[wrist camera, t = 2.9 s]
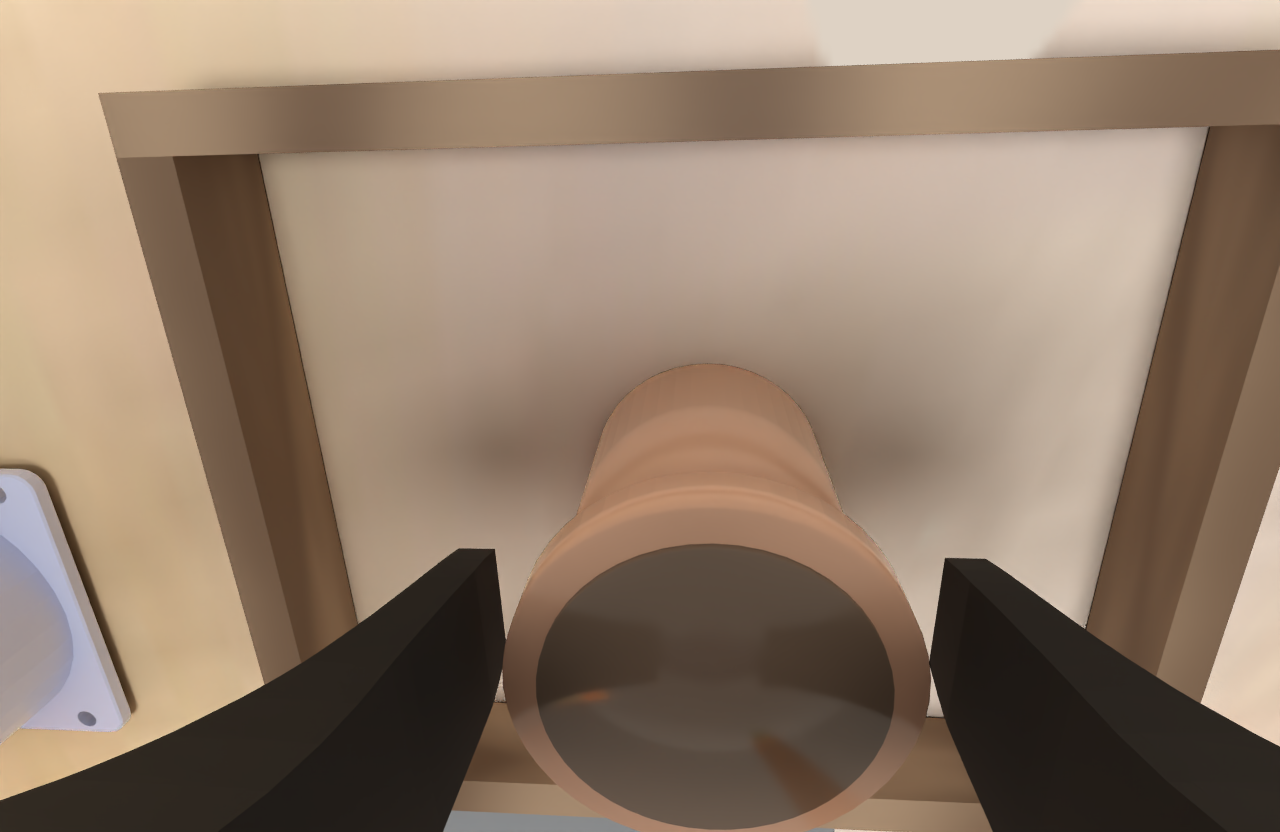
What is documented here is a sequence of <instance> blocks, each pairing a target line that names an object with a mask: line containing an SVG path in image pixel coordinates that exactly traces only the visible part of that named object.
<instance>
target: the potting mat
mask: <svg viewBox="0 0 1280 832" xmlns="http://www.w3.org/2000/svg"><path fill="white" fill-rule="evenodd" d="M443 832H640V831H637V830H634V829H631V828H629V827H626V826H624V825H621V824H619V823H616V822H614V821H612V820H610V819H608V818H598V817H577V816H556V815H535V814H514V813H492V812H471V811H451V813H450V816H449V818H448V821H447V823H446V826H445V828H444V831H443ZM805 832H834V829H830V828H814V829H811V830H809V831H805Z"/></svg>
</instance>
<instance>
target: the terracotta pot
mask: <svg viewBox="0 0 1280 832" xmlns="http://www.w3.org/2000/svg"><path fill="white" fill-rule="evenodd" d="M502 670H503V689H504V694H505V698H506V703H507V708H508V711H509V714H510V716H511V719H512V722H513V725H514V727H515V730H516V731H517V733H518V735H519V737H520V739H521V741H522V742H523V744H524V746H525V748H526V749H527V751H528V752H529V753H530V755H531V756H532V757H533V759H534V760H535V762H536V763H537V764H538V766H539V767H540V768H541V769H542V770H543V771H544V772H545V773H546V774H547V775H548V776H549V777H550V778H551V779H552V780H553V781H554V783H556V784H557V785H558V786H559V787H560V788H562V789H563V790H564V791H565V792H567V793H568V794H569V795H570V796H571V797H573V798H574V799H576V800H577V801H579V802H580V803H582V804H583V805H585V806H586V807H588V808H589V809H591V810H592V811H594V812H596V813H598V814H600V815H602V816H604V817H606V818H608V819H610V820H612V821H614V822H616V823H619V824H621V825H624V826H626V827H629V828H631V829H634V830H637V831H640V832H805V831H809V830H811V829H814V828H816V827H819V826H821V825H823V824H826V823H828V822H831V821H833V820H835V819H836V818H838V817H840V816H842V815H844V814H846V813H848V812H849V811H851V810H853V809H854V808H856V807H857V806H859V805H860V804H861V803H863V802H864V801H866V800H867V799H869V798H870V797H871V796H873V795H874V794H875V793H876V792H877V791H878V790H879V789H880V788H881V787H882V786H884V785H885V784H886V783H887V782H888V781H889V780H890V779H891V778H892V776H893V775H894V774H895V773H896V772H897V770H898V769H899V768H900V767H901V766H902V764H903V763H904V762H905V760H906V758H907V757H908V755H909V754H910V752H911V750H912V749H913V747H914V746H915V744H916V742H917V739H918V737H919V734H920V732H921V730H922V727H923V725H924V722H925V718H926V714H927V710H928V706H929V701H930V686H931V675H930V665H929V656H928V653H927V649H926V645H925V642H924V638H923V635H922V632H921V630H920V627H919V625H918V623H917V621H916V618H915V616H914V614H913V612H912V609H911V607H910V605H909V602H908V600H907V598H906V596H905V593H904V591H903V589H902V587H901V584H900V582H899V580H898V578H897V576H896V574H895V572H894V570H893V567H892V566H891V564H890V563H889V561H888V560H887V558H886V557H885V555H884V554H883V552H882V551H881V549H880V548H879V547H878V545H877V544H876V543H875V542H874V541H873V540H872V539H871V538H870V537H869V536H868V535H867V533H866V532H865V531H864V530H863V529H862V528H861V527H859V526H858V525H857V524H856V523H855V522H853V521H852V520H851V519H850V518H849V517H847V516H846V515H845V514H844V513H843V511H842V508H841V506H840V503H839V500H838V498H837V495H836V492H835V490H834V487H833V484H832V482H831V479H830V476H829V474H828V471H827V468H826V465H825V463H824V460H823V457H822V455H821V452H820V449H819V447H818V444H817V441H816V439H815V436H814V433H813V431H812V428H811V426H810V424H809V422H808V420H807V418H806V416H805V415H804V413H803V412H802V411H801V409H800V408H799V406H798V405H797V404H796V403H795V402H794V401H793V399H792V398H791V397H790V396H789V395H788V394H787V393H785V392H784V391H783V390H782V389H781V388H779V387H778V386H777V385H775V384H774V383H772V382H771V381H769V380H767V379H766V378H764V377H762V376H760V375H757V374H755V373H753V372H751V371H747V370H744V369H741V368H738V367H733V366H728V365H722V364H694V365H687V366H682V367H677V368H674V369H671V370H668V371H665V372H662V373H660V374H658V375H656V376H653V377H651V378H649V379H648V380H646V381H645V382H643V383H641V384H640V385H638V386H637V387H636V388H634V389H633V390H632V391H631V392H630V393H629V394H627V395H626V396H625V397H624V399H623V400H622V401H621V402H620V403H619V404H618V405H617V406H616V408H615V409H614V411H613V412H612V414H611V415H610V417H609V419H608V421H607V423H606V425H605V427H604V429H603V432H602V435H601V438H600V441H599V445H598V448H597V451H596V454H595V457H594V461H593V464H592V467H591V470H590V473H589V476H588V480H587V483H586V486H585V489H584V492H583V496H582V499H581V502H580V505H579V508H578V512H577V515H576V516H575V517H574V518H573V519H572V520H571V521H569V522H568V523H567V524H566V525H565V526H564V527H563V528H562V529H561V530H560V531H559V532H558V533H557V534H556V535H555V536H554V537H553V539H552V540H551V541H550V542H549V543H548V545H547V546H546V548H545V549H544V551H543V552H542V554H541V555H540V556H539V558H538V559H537V561H536V563H535V565H534V567H533V570H532V572H531V574H530V576H529V578H528V580H527V583H526V585H525V588H524V591H523V593H522V596H521V599H520V601H519V604H518V607H517V609H516V612H515V615H514V617H513V620H512V623H511V626H510V629H509V633H508V636H507V639H506V643H505V648H504V657H503V665H502Z"/></svg>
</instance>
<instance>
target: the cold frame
mask: <svg viewBox="0 0 1280 832" xmlns="http://www.w3.org/2000/svg"><path fill="white" fill-rule="evenodd" d="M98 94H99V98H100V101H101V105H102V108H103V112H104V115H105V119H106V123H107V126H108V130H109V133H110V137H111V140H112V144H113V147H114V151H115V154H116V158H117V162H118V165H119V169H120V172H121V176H122V179H123V183H124V186H125V190H126V194H127V197H128V201H129V204H130V208H131V211H132V215H133V218H134V222H135V226H136V229H137V233H138V236H139V240H140V243H141V247H142V250H143V254H144V257H145V261H146V265H147V268H148V272H149V275H150V279H151V282H152V286H153V289H154V293H155V297H156V300H157V304H158V307H159V311H160V314H161V318H162V321H163V325H164V328H165V332H166V336H167V339H168V343H169V346H170V350H171V353H172V357H173V360H174V364H175V368H176V371H177V375H178V378H179V382H180V385H181V389H182V392H183V396H184V400H185V403H186V407H187V410H188V414H189V417H190V421H191V424H192V428H193V431H194V435H195V439H196V442H197V446H198V449H199V453H200V456H201V460H202V463H203V467H204V471H205V474H206V478H207V481H208V485H209V488H210V492H211V495H212V499H213V503H214V506H215V510H216V513H217V517H218V520H219V524H220V527H221V531H222V534H223V538H224V542H225V545H226V549H227V552H228V556H229V559H230V563H231V566H232V570H233V574H234V577H235V581H236V584H237V588H238V591H239V595H240V598H241V602H242V606H243V609H244V613H245V616H246V620H247V623H248V627H249V630H250V634H251V637H252V641H253V645H254V648H255V652H256V655H257V659H258V662H259V666H260V669H261V673H262V677H263V680H264V684H267V683H269V682H270V681H272V680H274V679H275V678H277V677H279V676H281V675H282V674H284V673H286V672H288V671H289V670H291V669H292V668H294V667H296V666H297V665H299V664H300V663H302V662H304V661H305V660H307V659H308V658H310V657H312V656H313V655H315V654H316V653H318V652H319V651H321V650H322V649H324V648H325V647H326V646H328V645H329V644H331V643H332V642H334V641H335V640H337V639H338V638H339V637H341V636H342V635H344V634H345V633H347V632H348V631H349V630H351V629H352V628H354V627H355V626H357V620H356V616H355V611H354V606H353V602H352V597H351V592H350V588H349V583H348V578H347V573H346V569H345V564H344V559H343V555H342V550H341V545H340V541H339V536H338V531H337V526H336V522H335V517H334V512H333V508H332V503H331V498H330V493H329V489H328V484H327V479H326V475H325V470H324V465H323V461H322V456H321V451H320V446H319V442H318V437H317V432H316V428H315V423H314V418H313V414H312V409H311V404H310V399H309V395H308V390H307V385H306V381H305V376H304V371H303V367H302V362H301V357H300V352H299V348H298V343H297V338H296V334H295V329H294V324H293V319H292V315H291V310H290V305H289V301H288V296H287V291H286V287H285V282H284V277H283V272H282V268H281V263H280V258H279V254H278V249H277V244H276V240H275V235H274V230H273V225H272V221H271V216H270V211H269V207H268V202H267V197H266V193H265V188H264V183H263V178H262V174H261V169H260V164H259V160H258V155H257V154H268V153H303V152H337V151H372V150H407V149H441V148H476V147H511V146H545V145H580V144H615V143H649V142H684V141H718V140H753V139H788V138H822V137H857V136H892V135H926V134H961V133H996V132H1030V131H1065V130H1100V129H1134V128H1169V127H1204V126H1210V130H1209V134H1208V138H1207V142H1206V146H1205V150H1204V154H1203V158H1202V162H1201V166H1200V170H1199V175H1198V179H1197V183H1196V187H1195V191H1194V195H1193V199H1192V203H1191V207H1190V211H1189V215H1188V219H1187V223H1186V227H1185V231H1184V235H1183V239H1182V243H1181V247H1180V251H1179V256H1178V260H1177V264H1176V268H1175V272H1174V276H1173V280H1172V284H1171V288H1170V292H1169V296H1168V300H1167V304H1166V308H1165V312H1164V316H1163V320H1162V324H1161V328H1160V332H1159V336H1158V341H1157V345H1156V349H1155V353H1154V357H1153V361H1152V365H1151V369H1150V373H1149V377H1148V381H1147V385H1146V389H1145V393H1144V397H1143V401H1142V405H1141V409H1140V413H1139V417H1138V421H1137V426H1136V430H1135V434H1134V438H1133V442H1132V446H1131V450H1130V454H1129V458H1128V462H1127V466H1126V470H1125V474H1124V478H1123V482H1122V486H1121V490H1120V494H1119V498H1118V502H1117V507H1116V511H1115V515H1114V519H1113V523H1112V527H1111V531H1110V535H1109V539H1108V543H1107V547H1106V551H1105V555H1104V559H1103V563H1102V567H1101V571H1100V575H1099V579H1098V583H1097V587H1096V592H1095V596H1094V600H1093V604H1092V608H1091V612H1090V616H1089V620H1088V624H1087V628H1086V630H1087V631H1088V632H1090V633H1091V634H1093V635H1094V636H1095V637H1097V638H1098V639H1100V640H1101V641H1103V642H1104V643H1106V644H1107V645H1109V646H1110V647H1112V648H1113V649H1114V650H1116V651H1117V652H1119V653H1120V654H1122V655H1123V656H1125V657H1126V658H1128V659H1129V660H1131V661H1133V662H1134V663H1136V664H1137V665H1139V666H1140V667H1142V668H1144V669H1145V670H1147V671H1148V672H1150V673H1151V674H1153V675H1155V676H1156V677H1158V678H1159V679H1161V680H1162V681H1164V682H1166V683H1167V684H1169V685H1170V686H1172V687H1174V688H1175V689H1177V690H1178V691H1180V692H1182V693H1184V694H1185V695H1187V696H1189V697H1190V698H1192V699H1194V700H1195V701H1197V702H1199V703H1201V700H1202V697H1203V694H1204V691H1205V688H1206V685H1207V682H1208V679H1209V676H1210V673H1211V670H1212V667H1213V664H1214V661H1215V658H1216V655H1217V652H1218V649H1219V646H1220V643H1221V640H1222V637H1223V634H1224V631H1225V628H1226V625H1227V622H1228V620H1229V617H1230V614H1231V611H1232V608H1233V605H1234V602H1235V599H1236V596H1237V593H1238V590H1239V587H1240V584H1241V581H1242V578H1243V575H1244V572H1245V569H1246V566H1247V563H1248V560H1249V557H1250V554H1251V551H1252V548H1253V545H1254V542H1255V539H1256V536H1257V533H1258V530H1259V527H1260V524H1261V521H1262V518H1263V515H1264V512H1265V509H1266V506H1267V503H1268V500H1269V497H1270V494H1271V491H1272V488H1273V485H1274V482H1275V479H1276V476H1277V473H1278V470H1279V467H1280V50H1261V51H1234V52H1207V53H1179V54H1152V55H1125V56H1098V57H1070V58H1043V59H1016V60H989V61H964V62H963V61H962V62H935V63H910V64H909V63H907V64H881V65H852V66H825V67H798V68H771V69H743V70H716V71H689V72H661V73H634V74H607V75H580V76H552V77H525V78H498V79H471V80H443V81H416V82H389V83H362V84H334V85H307V86H280V87H253V88H225V89H198V90H171V91H144V92H116V93H98ZM452 811H471V812H492V813H514V814H535V815H556V816H577V817H598V818H606V817H604V816H602V815H600V814H598V813H596V812H594V811H592V810H591V809H589V808H588V807H586V806H585V805H583V804H582V803H580V802H579V801H577V800H576V799H574V798H573V797H571V796H570V795H569V794H568V793H567V792H565V791H564V790H563V789H562V788H560V787H559V786H558V785H557V784H556V783H554V781H553V780H552V779H551V778H550V777H549V776H548V775H547V774H546V773H545V772H544V771H543V770H542V769H541V768H540V767H539V766H538V764H537V763H536V762H535V760H534V759H533V757H532V756H531V755H530V753H529V752H528V751H527V749H526V748H525V746H524V744H523V742H522V741H521V739H520V737H519V735H518V733H517V731H516V730H515V727H514V725H513V722H512V719H511V716H510V714H509V711H508V708H507V703H493V706H492V709H491V712H490V714H489V717H488V720H487V722H486V725H485V727H484V730H483V732H482V735H481V738H480V740H479V743H478V745H477V748H476V750H475V753H474V755H473V758H472V760H471V763H470V765H469V768H468V770H467V773H466V775H465V778H464V780H463V783H462V785H461V788H460V790H459V793H458V795H457V798H456V801H455V803H454V806H453V808H452ZM816 828H830V829H851V830H872V831H893V832H993V831H992V829H991V826H990V824H989V822H988V819H987V817H986V815H985V813H984V810H983V808H982V806H981V803H980V801H979V799H978V797H977V794H976V792H975V790H974V787H973V785H972V783H971V781H970V778H969V776H968V774H967V771H966V769H965V767H964V764H963V762H962V760H961V757H960V755H959V753H958V750H957V748H956V746H955V743H954V741H953V739H952V736H951V734H950V731H949V729H948V727H947V724H946V721H945V718H925V722H924V725H923V727H922V730H921V732H920V734H919V737H918V739H917V742H916V744H915V746H914V747H913V749H912V750H911V752H910V754H909V755H908V757H907V758H906V760H905V762H904V763H903V764H902V766H901V767H900V768H899V769H898V770H897V772H896V773H895V774H894V775H893V776H892V778H891V779H890V780H889V781H888V782H887V783H886V784H885V785H884V786H882V787H881V788H880V789H879V790H878V791H877V792H876V793H875V794H874V795H873V796H871V797H870V798H869V799H867V800H866V801H864V802H863V803H861V804H860V805H859V806H857V807H856V808H854V809H853V810H851V811H849V812H848V813H846V814H844V815H842V816H840V817H838V818H836V819H835V820H833V821H831V822H828V823H826V824H823V825H821V826H819V827H816Z"/></svg>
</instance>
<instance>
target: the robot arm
mask: <svg viewBox="0 0 1280 832" xmlns="http://www.w3.org/2000/svg"><path fill="white" fill-rule="evenodd" d="M2 489H3V490H4V491H3V490H2ZM505 643H506V638H505V630H504V622H503V614H502V605H501V597H500V589H499V580H498V572H497V564H496V556H495V549H460V548H459V549H458V550H456V551H455V552H453V553H452V554H450V555H449V556H448V557H446V558H445V559H444V560H442V561H441V562H440V563H438V564H437V565H436V566H434V567H433V568H432V569H431V570H429V571H428V572H427V573H425V574H424V575H423V576H422V577H420V578H419V579H418V580H417V581H415V582H414V583H413V584H411V585H410V586H409V587H408V588H406V589H405V590H404V591H402V592H401V593H400V594H398V595H397V596H396V597H395V598H393V599H392V600H391V601H389V602H388V603H387V604H385V605H384V606H383V607H381V608H380V609H379V610H378V611H376V612H375V613H374V614H372V615H371V616H369V617H368V618H367V619H365V620H364V621H362V622H361V623H359V624H358V625H357V626H355V627H354V628H352V629H351V630H349V631H348V632H347V633H345V634H344V635H342V636H341V637H339V638H338V639H337V640H335V641H334V642H332V643H331V644H329V645H328V646H326V647H325V648H324V649H322V650H321V651H319V652H318V653H316V654H315V655H313V656H312V657H310V658H308V659H307V660H305V661H304V662H302V663H300V664H299V665H297V666H296V667H294V668H292V669H291V670H289V671H288V672H286V673H284V674H282V675H281V676H279V677H277V678H275V679H274V680H272V681H270V682H269V683H267V684H265V685H263V686H262V687H260V688H258V689H257V690H255V691H253V692H251V693H249V694H247V695H246V696H244V697H242V698H240V699H238V700H236V701H234V702H232V703H230V704H228V705H226V706H224V707H222V708H220V709H218V710H216V711H214V712H212V713H210V714H208V715H206V716H204V717H202V718H200V719H198V720H196V721H194V722H192V723H190V724H188V725H186V726H184V727H182V728H180V729H178V730H176V731H174V732H172V733H170V734H168V735H166V736H163V737H161V738H159V739H157V740H154V741H152V742H150V743H147V744H145V745H143V746H141V747H138V748H136V749H134V750H132V751H129V752H127V753H125V754H122V755H120V756H117V757H115V758H112V759H110V760H108V761H105V762H103V763H100V764H98V765H95V766H93V767H91V768H88V769H86V770H83V771H80V772H78V773H75V774H73V775H70V776H67V777H65V778H62V779H60V780H57V781H54V782H51V783H48V784H46V785H43V786H40V787H37V788H34V789H31V790H29V791H26V792H23V793H20V794H17V795H15V796H12V797H9V798H6V799H3V800H0V832H443V831H444V828H445V826H446V823H447V821H448V818H449V816H450V813H451V811H452V808H453V806H454V803H455V801H456V798H457V795H458V793H459V790H460V788H461V785H462V783H463V780H464V778H465V775H466V773H467V770H468V768H469V765H470V763H471V760H472V758H473V755H474V753H475V750H476V748H477V745H478V743H479V740H480V738H481V735H482V732H483V730H484V727H485V725H486V722H487V720H488V717H489V714H490V712H491V709H492V706H493V703H494V699H495V695H496V692H497V688H498V684H499V680H500V676H501V672H502V665H503V657H504V648H505ZM929 665H930V668H931V672H932V676H933V679H934V683H935V687H936V690H937V694H938V698H939V701H940V704H941V708H942V711H943V714H944V718H945V721H946V724H947V727H948V729H949V731H950V734H951V736H952V739H953V741H954V743H955V746H956V748H957V750H958V753H959V755H960V757H961V760H962V762H963V764H964V767H965V769H966V771H967V774H968V776H969V778H970V781H971V783H972V785H973V787H974V790H975V792H976V794H977V797H978V799H979V801H980V803H981V806H982V808H983V810H984V813H985V815H986V817H987V819H988V822H989V824H990V826H991V829H992V831H993V832H1280V747H1279V746H1277V745H1275V744H1274V743H1272V742H1270V741H1268V740H1266V739H1264V738H1262V737H1260V736H1258V735H1256V734H1254V733H1252V732H1251V731H1249V730H1247V729H1245V728H1244V727H1242V726H1240V725H1238V724H1236V723H1235V722H1233V721H1231V720H1229V719H1227V718H1226V717H1224V716H1222V715H1220V714H1218V713H1217V712H1215V711H1213V710H1211V709H1209V708H1208V707H1206V706H1204V705H1202V704H1200V703H1199V702H1197V701H1195V700H1194V699H1192V698H1190V697H1189V696H1187V695H1185V694H1184V693H1182V692H1180V691H1178V690H1177V689H1175V688H1174V687H1172V686H1170V685H1169V684H1167V683H1166V682H1164V681H1162V680H1161V679H1159V678H1158V677H1156V676H1155V675H1153V674H1151V673H1150V672H1148V671H1147V670H1145V669H1144V668H1142V667H1140V666H1139V665H1137V664H1136V663H1134V662H1133V661H1131V660H1129V659H1128V658H1126V657H1125V656H1123V655H1122V654H1120V653H1119V652H1117V651H1116V650H1114V649H1113V648H1112V647H1110V646H1109V645H1107V644H1106V643H1104V642H1103V641H1101V640H1100V639H1098V638H1097V637H1095V636H1094V635H1093V634H1091V633H1090V632H1088V631H1087V630H1085V629H1084V628H1083V627H1081V626H1080V625H1078V624H1077V623H1075V622H1074V621H1073V620H1071V619H1070V618H1068V617H1067V616H1066V615H1064V614H1063V613H1062V612H1060V611H1059V610H1057V609H1056V608H1055V607H1053V606H1052V605H1050V604H1049V603H1048V602H1046V601H1045V600H1044V599H1042V598H1041V597H1039V596H1038V595H1037V594H1035V593H1034V592H1033V591H1031V590H1030V589H1028V588H1027V587H1026V586H1024V585H1023V584H1022V583H1020V582H1019V581H1017V580H1016V579H1015V578H1013V577H1012V576H1010V575H1009V574H1008V573H1006V572H1005V571H1003V570H1002V569H1000V568H999V567H997V566H996V565H994V564H993V563H991V562H990V561H988V560H987V559H966V558H945V561H944V568H943V575H942V581H941V588H940V594H939V601H938V608H937V614H936V621H935V627H934V634H933V641H932V647H931V654H930V660H929ZM130 717H131V712H130V708H129V705H128V703H127V700H126V697H125V695H124V692H123V689H122V687H121V684H120V681H119V679H118V676H117V673H116V671H115V668H114V665H113V663H112V660H111V657H110V655H109V652H108V649H107V647H106V644H105V641H104V639H103V636H102V633H101V631H100V628H99V626H98V623H97V620H96V618H95V615H94V612H93V610H92V607H91V604H90V602H89V599H88V596H87V594H86V591H85V588H84V586H83V583H82V580H81V578H80V575H79V572H78V570H77V567H76V564H75V562H74V559H73V556H72V554H71V551H70V548H69V546H68V543H67V540H66V538H65V535H64V532H63V530H62V527H61V524H60V522H59V519H58V516H57V514H56V511H55V508H54V506H53V503H52V500H51V498H50V495H49V492H48V490H47V487H46V485H45V483H44V482H43V480H42V479H41V478H40V477H39V476H38V475H36V474H34V473H32V472H31V471H29V470H24V469H0V745H1V744H2V743H3V742H4V741H5V740H7V739H8V738H9V737H10V736H11V735H12V734H13V733H14V732H16V731H17V730H18V729H19V728H24V729H49V730H74V731H100V732H114V731H118V730H119V729H121V728H122V727H123V726H124V725H125V724H126V723H127V722H128V721H129V719H130Z"/></svg>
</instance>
